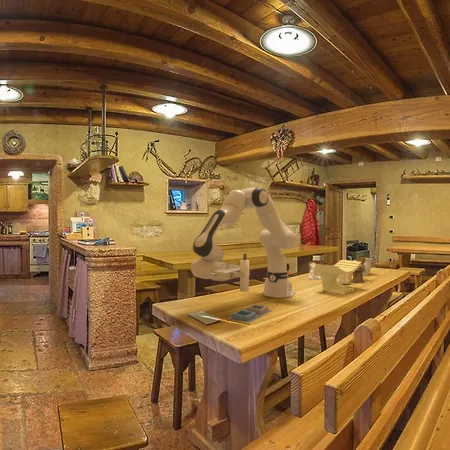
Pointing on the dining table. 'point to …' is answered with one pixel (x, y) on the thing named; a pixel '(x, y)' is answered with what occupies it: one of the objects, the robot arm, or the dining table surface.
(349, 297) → the dining table surface
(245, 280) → the knob-topped cream cylinder
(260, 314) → the lever base plate
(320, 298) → the dining table surface
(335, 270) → the slatted curved stool
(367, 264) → the pitcher
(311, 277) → the white creature statuette
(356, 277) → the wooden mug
